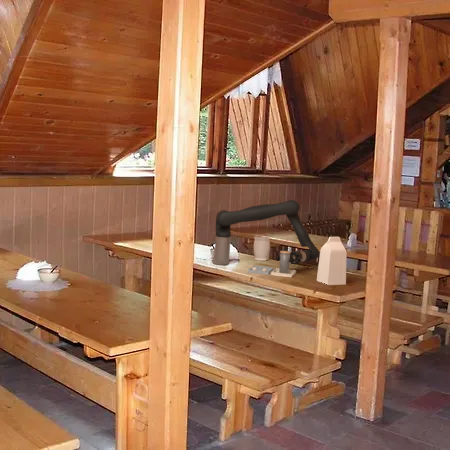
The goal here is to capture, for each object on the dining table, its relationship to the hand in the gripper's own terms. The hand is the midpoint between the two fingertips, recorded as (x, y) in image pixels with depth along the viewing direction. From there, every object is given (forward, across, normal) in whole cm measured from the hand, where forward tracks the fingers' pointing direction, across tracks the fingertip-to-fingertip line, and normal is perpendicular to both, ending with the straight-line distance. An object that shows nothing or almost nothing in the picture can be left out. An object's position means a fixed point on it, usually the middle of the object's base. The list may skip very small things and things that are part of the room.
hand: (283, 259), depth 389 cm
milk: (-5, +29, +9) cm, 31 cm away
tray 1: (+4, -12, +9) cm, 16 cm away
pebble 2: (+7, -8, +8) cm, 14 cm away
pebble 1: (+9, -14, +8) cm, 18 cm away
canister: (-2, 0, +8) cm, 9 cm away
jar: (-33, -36, +9) cm, 50 cm away
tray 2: (-1, 0, +9) cm, 9 cm away
